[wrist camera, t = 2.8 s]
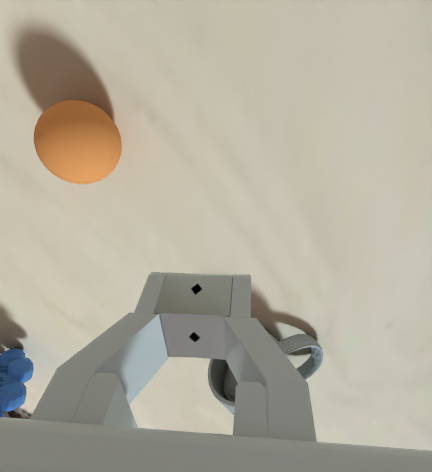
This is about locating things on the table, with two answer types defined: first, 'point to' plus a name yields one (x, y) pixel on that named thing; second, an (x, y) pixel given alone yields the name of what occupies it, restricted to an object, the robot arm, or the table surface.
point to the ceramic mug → (224, 379)
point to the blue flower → (13, 379)
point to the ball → (77, 141)
